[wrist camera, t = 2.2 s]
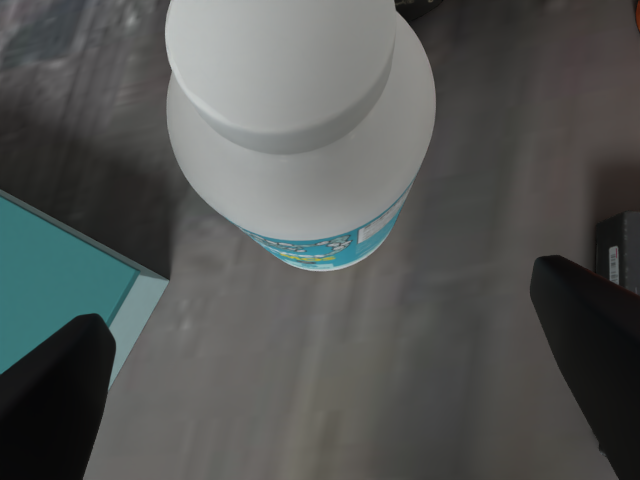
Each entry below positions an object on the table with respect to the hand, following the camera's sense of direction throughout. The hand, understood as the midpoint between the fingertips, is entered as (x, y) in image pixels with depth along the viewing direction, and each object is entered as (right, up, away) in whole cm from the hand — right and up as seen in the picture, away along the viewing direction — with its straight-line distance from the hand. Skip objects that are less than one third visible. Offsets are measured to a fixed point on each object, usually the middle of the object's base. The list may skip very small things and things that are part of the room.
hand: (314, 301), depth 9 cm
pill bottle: (0, +3, +13) cm, 13 cm away
